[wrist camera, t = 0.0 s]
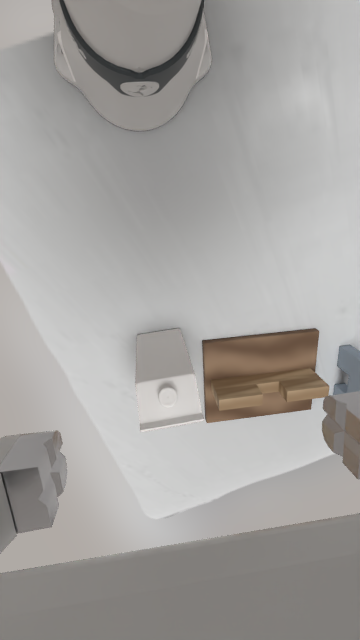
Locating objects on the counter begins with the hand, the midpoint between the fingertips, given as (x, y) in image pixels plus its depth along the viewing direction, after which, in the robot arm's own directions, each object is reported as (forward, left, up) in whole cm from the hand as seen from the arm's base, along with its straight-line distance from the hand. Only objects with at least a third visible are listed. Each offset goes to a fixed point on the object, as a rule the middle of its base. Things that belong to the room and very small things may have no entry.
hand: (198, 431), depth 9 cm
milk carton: (+16, 0, -39) cm, 42 cm away
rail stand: (+23, +17, -39) cm, 48 cm away
